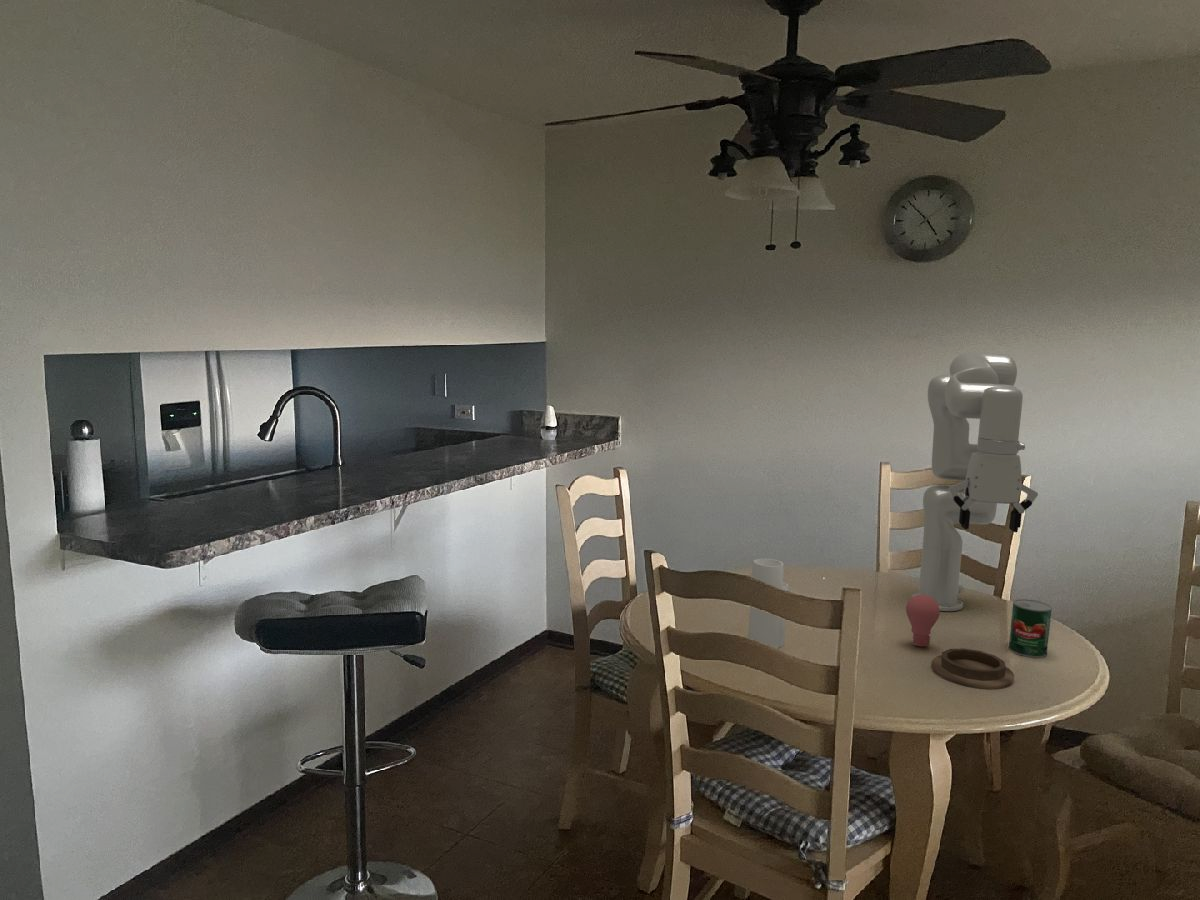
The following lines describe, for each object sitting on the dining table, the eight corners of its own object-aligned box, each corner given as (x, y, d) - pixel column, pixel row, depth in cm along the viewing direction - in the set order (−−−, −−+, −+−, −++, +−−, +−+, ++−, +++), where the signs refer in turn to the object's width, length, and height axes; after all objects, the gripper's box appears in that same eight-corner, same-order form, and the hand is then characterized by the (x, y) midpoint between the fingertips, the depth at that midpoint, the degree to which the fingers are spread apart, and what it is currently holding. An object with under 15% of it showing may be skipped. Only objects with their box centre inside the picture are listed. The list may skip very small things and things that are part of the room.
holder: (955, 652, 195) (956, 640, 194) (1027, 676, 182) (1029, 663, 182) (916, 669, 185) (917, 655, 184) (990, 695, 172) (991, 681, 172)
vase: (774, 658, 188) (780, 568, 185) (741, 652, 191) (747, 563, 188) (786, 642, 198) (792, 556, 195) (755, 636, 201) (760, 551, 198)
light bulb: (897, 645, 198) (902, 594, 196) (910, 638, 203) (915, 588, 201) (928, 654, 193) (933, 602, 191) (941, 646, 198) (946, 595, 196)
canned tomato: (1038, 646, 201) (1044, 600, 199) (1052, 659, 193) (1058, 611, 191) (1002, 643, 202) (1007, 597, 200) (1015, 656, 194) (1020, 609, 192)
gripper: (1035, 447, 181) (1026, 528, 184) (948, 443, 183) (940, 522, 186) (1048, 452, 174) (1039, 536, 176) (958, 448, 176) (950, 530, 179)
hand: (988, 529), depth 181 cm, fingers open, 9 cm apart
